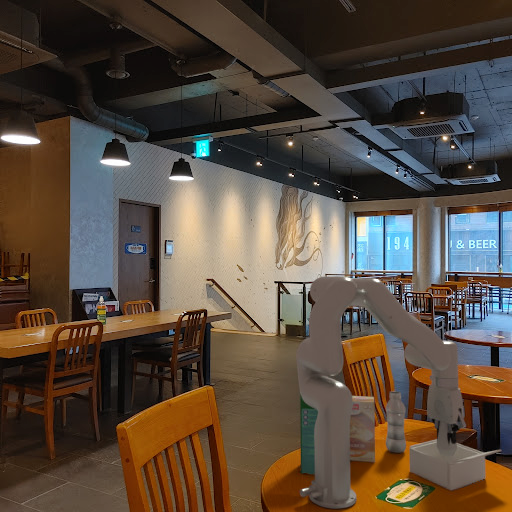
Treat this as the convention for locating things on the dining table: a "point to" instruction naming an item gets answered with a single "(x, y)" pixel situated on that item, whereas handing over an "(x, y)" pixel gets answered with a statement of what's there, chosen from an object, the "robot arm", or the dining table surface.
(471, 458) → the flap
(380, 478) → the dining table surface
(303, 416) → the milk carton
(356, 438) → the coffeecake box
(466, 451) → the carton
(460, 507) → the dining table surface
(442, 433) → the salt shaker
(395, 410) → the plastic bottle
